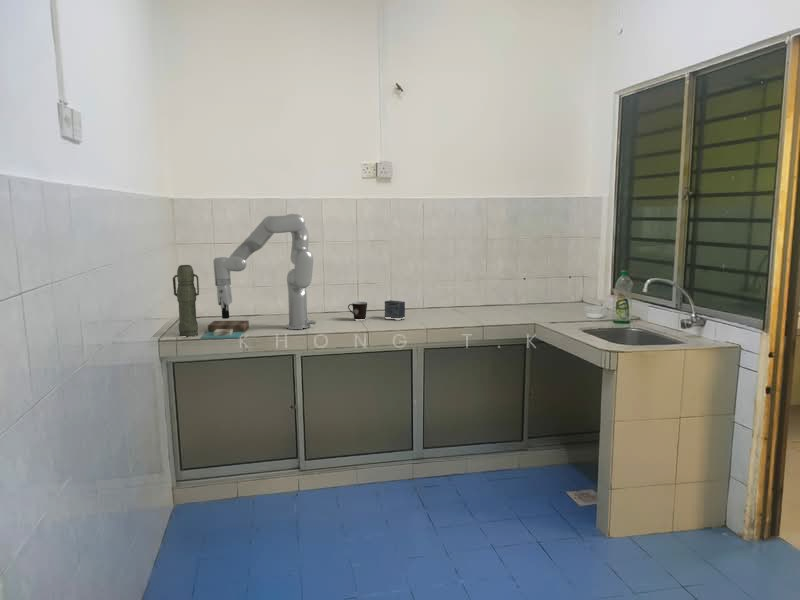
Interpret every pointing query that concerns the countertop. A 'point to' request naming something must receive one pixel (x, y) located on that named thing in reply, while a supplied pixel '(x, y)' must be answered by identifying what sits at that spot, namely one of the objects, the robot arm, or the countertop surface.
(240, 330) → the riser
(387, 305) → the small box
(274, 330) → the countertop surface
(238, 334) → the mat
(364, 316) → the coffee mug
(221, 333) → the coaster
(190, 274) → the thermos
